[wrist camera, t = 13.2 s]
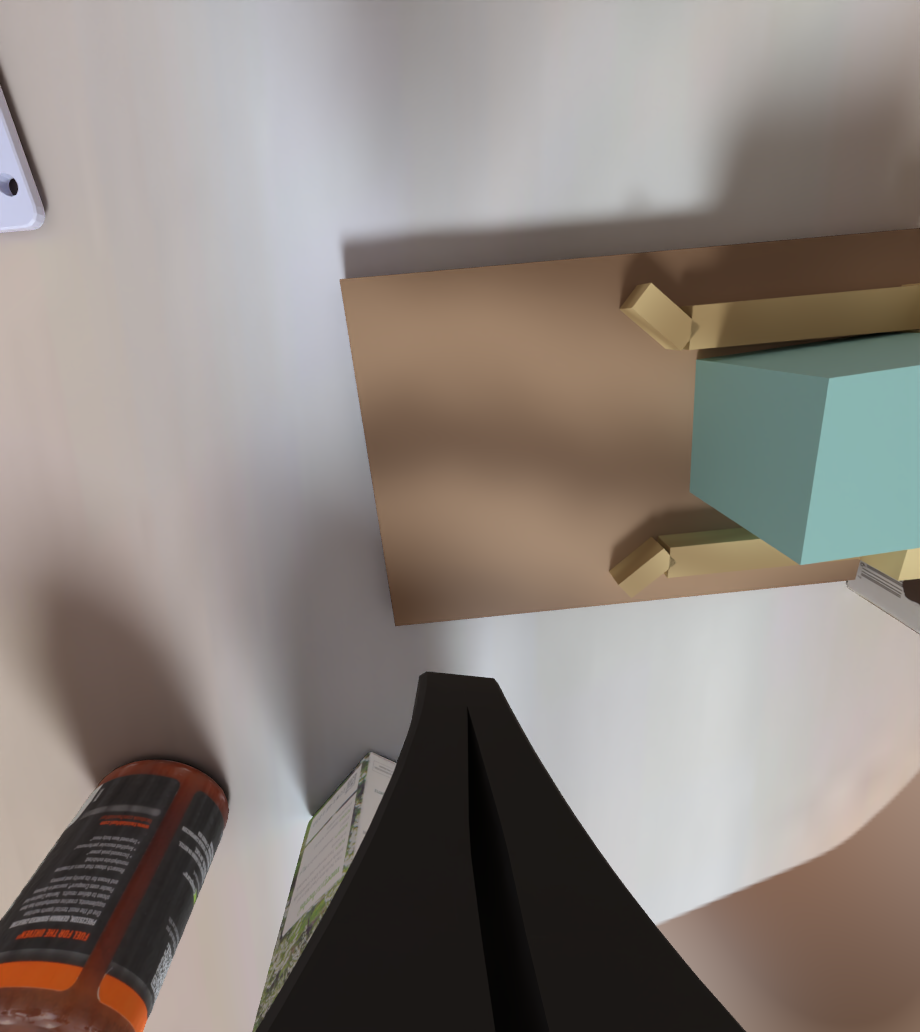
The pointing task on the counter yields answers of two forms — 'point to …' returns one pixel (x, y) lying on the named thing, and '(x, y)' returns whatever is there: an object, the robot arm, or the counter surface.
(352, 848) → the syrup box
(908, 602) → the cookie box
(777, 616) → the counter surface
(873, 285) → the slide board
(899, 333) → the teal block
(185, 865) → the supplement bottle
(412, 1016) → the robot arm
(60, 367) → the counter surface
